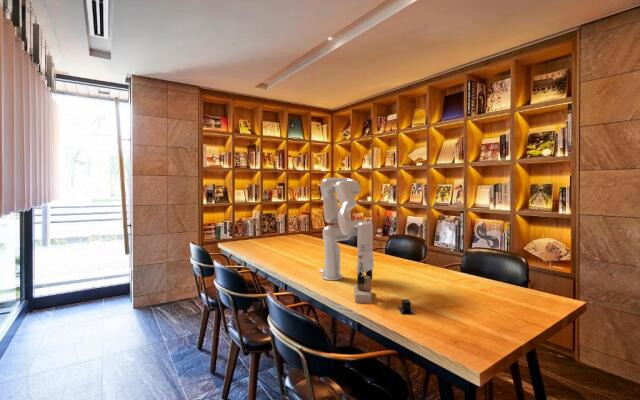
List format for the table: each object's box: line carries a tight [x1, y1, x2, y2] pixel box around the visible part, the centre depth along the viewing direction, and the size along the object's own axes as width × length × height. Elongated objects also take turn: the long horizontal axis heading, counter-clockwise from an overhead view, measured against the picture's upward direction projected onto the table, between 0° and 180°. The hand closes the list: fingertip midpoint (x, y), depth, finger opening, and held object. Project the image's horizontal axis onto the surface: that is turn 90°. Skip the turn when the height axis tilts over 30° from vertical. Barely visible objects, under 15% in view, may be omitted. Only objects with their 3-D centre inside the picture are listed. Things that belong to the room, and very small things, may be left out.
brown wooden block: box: [356, 274, 372, 291], centre depth 163 cm, size 5×5×6 cm
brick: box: [353, 284, 373, 304], centre depth 163 cm, size 16×8×5 cm, turn 175°
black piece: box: [397, 298, 416, 316], centre depth 145 cm, size 13×8×5 cm, turn 177°
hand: (365, 281), depth 163 cm, fingers open, 9 cm apart
